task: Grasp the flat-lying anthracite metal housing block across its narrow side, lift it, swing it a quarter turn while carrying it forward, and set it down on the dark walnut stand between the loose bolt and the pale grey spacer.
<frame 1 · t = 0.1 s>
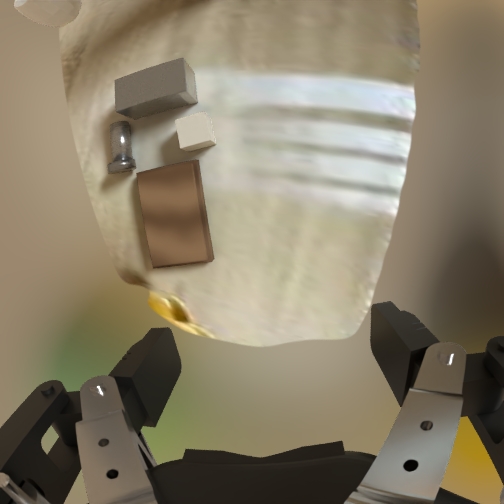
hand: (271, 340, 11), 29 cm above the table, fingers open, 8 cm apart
bolt: (125, 144, 38), on the table
stand: (175, 214, 39), on the table
housing: (163, 96, 36), on the table
spacer: (199, 134, 37), on the table
cup: (101, 37, 33), on the table
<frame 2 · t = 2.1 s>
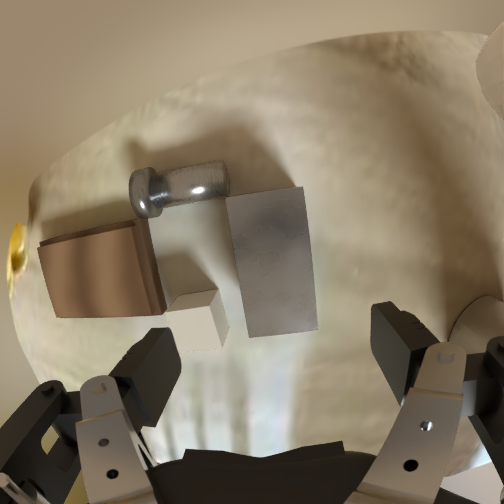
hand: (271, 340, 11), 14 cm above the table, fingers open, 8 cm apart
bolt: (194, 184, 24), on the table
stand: (99, 271, 26), on the table
housing: (275, 248, 25), on the table
spacer: (204, 311, 26), on the table
cup: (431, 114, 21), on the table
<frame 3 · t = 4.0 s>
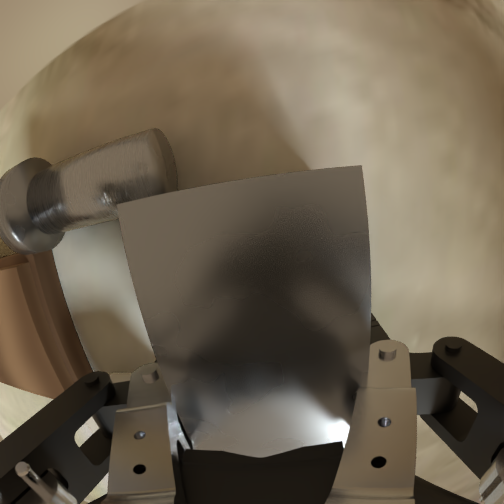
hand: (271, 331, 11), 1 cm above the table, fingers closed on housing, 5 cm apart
bolt: (115, 184, 11), on the table
stand: (11, 321, 14), on the table
housing: (270, 302, 12), on the table, touching gripper
spacer: (153, 398, 14), on the table
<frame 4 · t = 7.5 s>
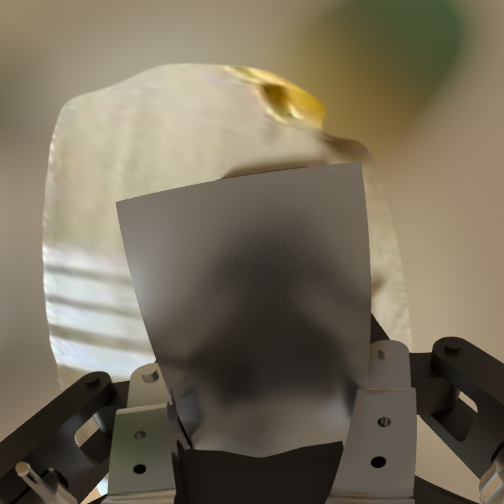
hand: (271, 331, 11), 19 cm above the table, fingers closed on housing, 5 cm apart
housing: (269, 301, 12), point 18 cm above the table, touching gripper
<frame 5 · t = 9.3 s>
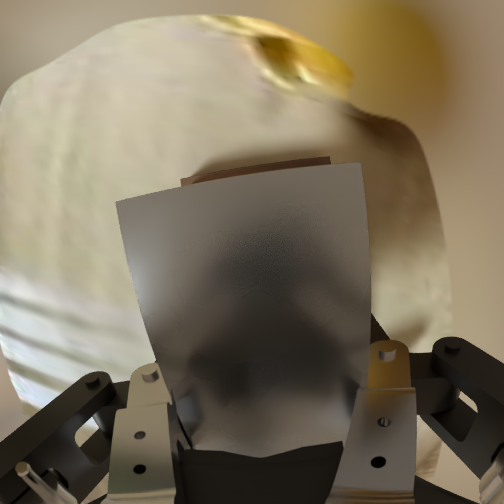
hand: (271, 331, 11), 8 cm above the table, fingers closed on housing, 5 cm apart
stand: (270, 273, 19), on the table
housing: (269, 301, 12), point 7 cm above the table, touching gripper
when the fingers open (5 cm above the table, at t = 10.9 s): housing drops 1 cm, resting on stand.
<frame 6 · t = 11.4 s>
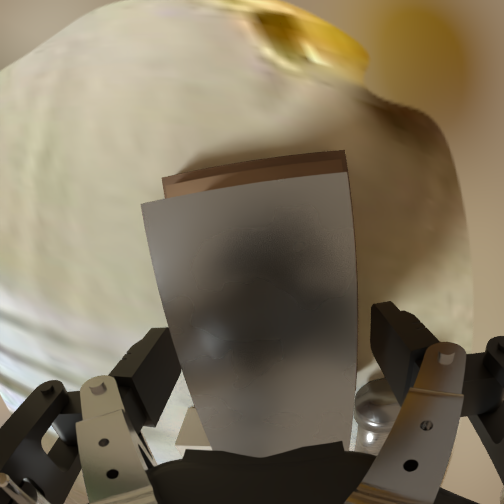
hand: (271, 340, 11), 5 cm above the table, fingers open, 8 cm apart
bolt: (372, 418, 18), on the table
stand: (271, 290, 16), on the table
housing: (270, 294, 13), point 2 cm above the table, touching stand
spacer: (221, 423, 19), on the table
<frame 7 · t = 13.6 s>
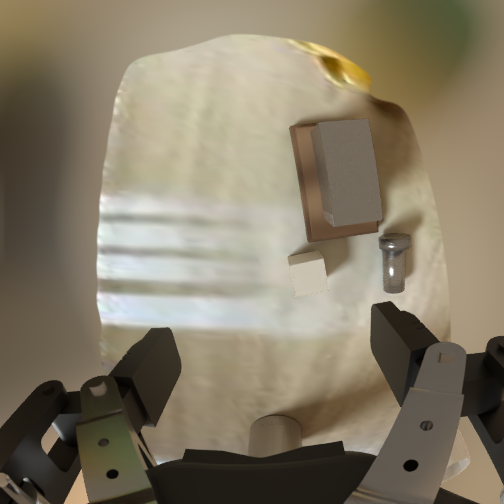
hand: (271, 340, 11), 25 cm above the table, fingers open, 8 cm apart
bolt: (389, 264, 35), on the table
stand: (334, 179, 33), on the table
housing: (338, 172, 31), point 2 cm above the table, touching stand
spacer: (305, 268, 36), on the table
cup: (406, 383, 40), on the table
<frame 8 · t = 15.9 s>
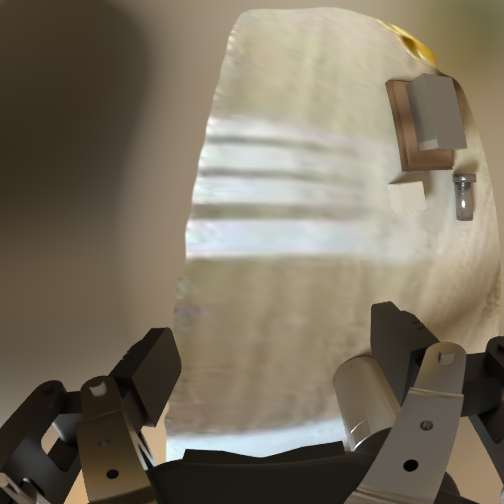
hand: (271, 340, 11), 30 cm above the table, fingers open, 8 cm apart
bolt: (459, 199, 37), on the table
stand: (419, 126, 35), on the table
housing: (426, 118, 32), point 2 cm above the table, touching stand
spacer: (400, 196, 38), on the table
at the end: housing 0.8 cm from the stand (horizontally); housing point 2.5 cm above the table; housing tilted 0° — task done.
